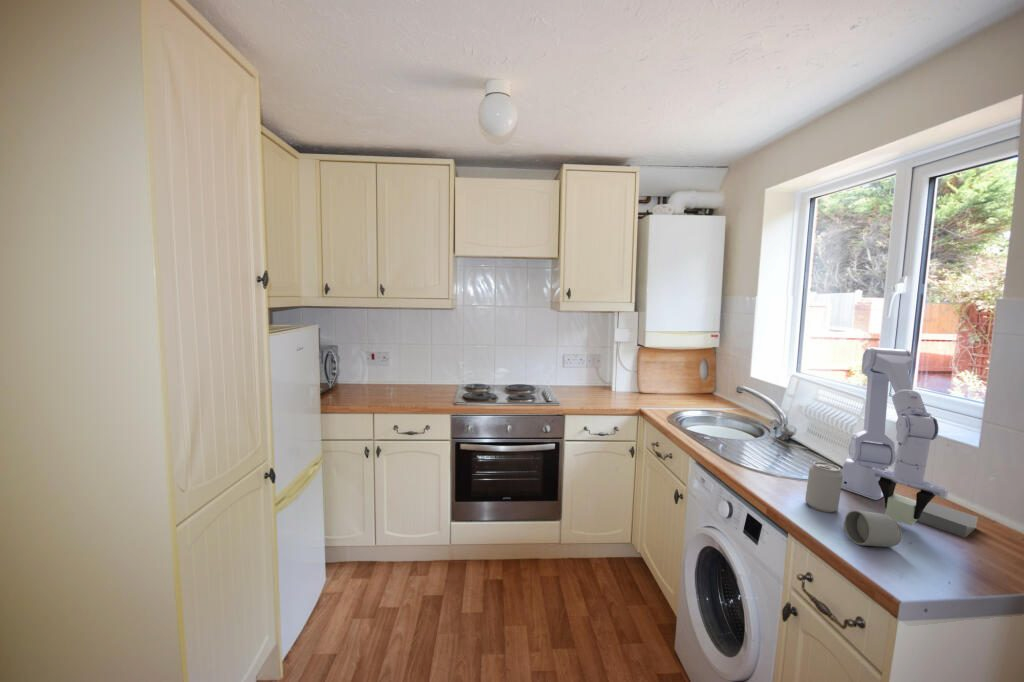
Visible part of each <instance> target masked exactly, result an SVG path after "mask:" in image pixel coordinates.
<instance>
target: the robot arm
mask: <svg viewBox="0 0 1024 682" xmlns="http://www.w3.org/2000/svg"><path fill="white" fill-rule="evenodd" d="M861 360H862V361H861V373H862V374H863V375H865V376H867V378H866V380H867V381H866V382H867V384H866V395H865V408H864V409H865V410H864V418H863V419H864V421H863V423H864V424H863V429H862V430H861V431H859V432H855V433H854V434H852V435H851V439H850V442H849V445H848V455H849V458H848V457H847V458H846V459H845V461H844V463H843V465H842V469H841V473H842V474H843V479H842V486H841V490H842V489H843V490H844V491H848V492H852V493H854V494H857V495H860V496H863V497H866V498H868V499H871V500H873V501H878V500H880V499H882V498H883V500H884V508H885V509H886V508H887V502H888V497H890V496H892V495H894V493H895V489H896V485H897V484H899V485H903V486H905V487H908V488H913V489H915V490H918V492H916V496H915V497H916V508H915V512H914V519H919V518H920V516H921V513H922V511H923V510H924V508H925V507H926V505H927V504H928V503H929V502H932V500H933V499H934V498H935V497H936V496H937V497H939V498H941V499H947V498H948V494H949V489H948V488H944V487H942V486H938V485H936V484H933V483H931V482H928V481H925V474H926V470H927V462H928V457H929V452H930V451H929V450H930V446H931V441H934V440H936V439H937V437H938V435H939V423H938V420H937V418H936V417H935V416H933V415H932V414H931V413H930V412H927V409H926V406H925V403H924V401H923V398H922V396H921V394H920V393H919V392H918V391H915V390H914V389H913V386H912V385H913V384H912V382H911V380H912V379H911V375H910V374H909V372H910V370H911V368H912V366H913V363H914V362H913V361H914V357H913V354H912V352H911V350H909V349H899V348H898V349H897V348H896V349H895V348H883V347H874V346H868V347H867V348H866V349H865V350H864V352H863V354H862V359H861ZM889 383H890V384H891V387H892V389H893V391H894V394H893V395H892V397H891V399H892V404H893V405H894V410H895V413H896V416H897V419H896V421H895V430H896V437H895V438H896V441H897V449H896V450H895V442H894V440H893V439H891V438H890V437H889V436H888V435H886V434H885V433H886V423H887V422H886V421H887V407H888V398H889V396H888V394H889ZM892 466H893V471H891V470H888V469H889V467H892Z"/></svg>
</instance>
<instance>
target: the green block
mask: <svg viewBox="0 0 1024 682" xmlns="http://www.w3.org/2000/svg"><path fill="white" fill-rule="evenodd" d="M915 508H916V500H915V499H913V498H910V497H907V496H904V495H900V494H899V493H898V494H897V493H895V494H893V495H892V496H890V497H888V502H887V508H885V513H884V515H887V516H890V517H892V518H893V519H894V520H895V521H896V522H900V523H903V524H905V525H908V526H912V525H913V524H914V523H916V522H918V521H917V520H918V519H914V512H915Z"/></svg>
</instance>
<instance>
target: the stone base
mask: <svg viewBox="0 0 1024 682" xmlns="http://www.w3.org/2000/svg"><path fill="white" fill-rule="evenodd" d="M978 519H979V517H978V516H977V515H973V514H970V513H967V512H964V511H960V510H957V509H955V508H951V507H949V506H945V505H943V504H938V503H935V502H932V501H930V502H929V503H928V504H927V505H926V507H925V508H924V510H923V511H922V513H921V516H920V518H919V519H918V520H917V521H916V522H920V523H923V524H926V525H928V526H930V527H934V528H937V529H940V530H941V531H944V532H948V533H950V534H953V535H955V536H959V537H961V538H963V539H964V538H967V537H968V536H969V535H970V534H971V533H972V532H973V531H974V530H975V529H976V528H977V524H978Z"/></svg>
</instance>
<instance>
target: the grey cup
mask: <svg viewBox="0 0 1024 682" xmlns="http://www.w3.org/2000/svg"><path fill="white" fill-rule="evenodd" d="M843 529H844V530H845V532H846V535H847V537H848V538H849V539H850V540H851V541H852V543H854V544H855V545H858V546H864V547H866V546H868V547H884V548H890V547H895V546H897V545H898V544H899V543H900V542H901V540H902V530H901V527H900V524H898V521H897V520H894V519H893V518H892V517H890V516H887V515H885V513H879V512H871V511H865V510H858V509H852V510H850V511H848V512H847V513H846V515H845V519H844V522H843Z"/></svg>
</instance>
